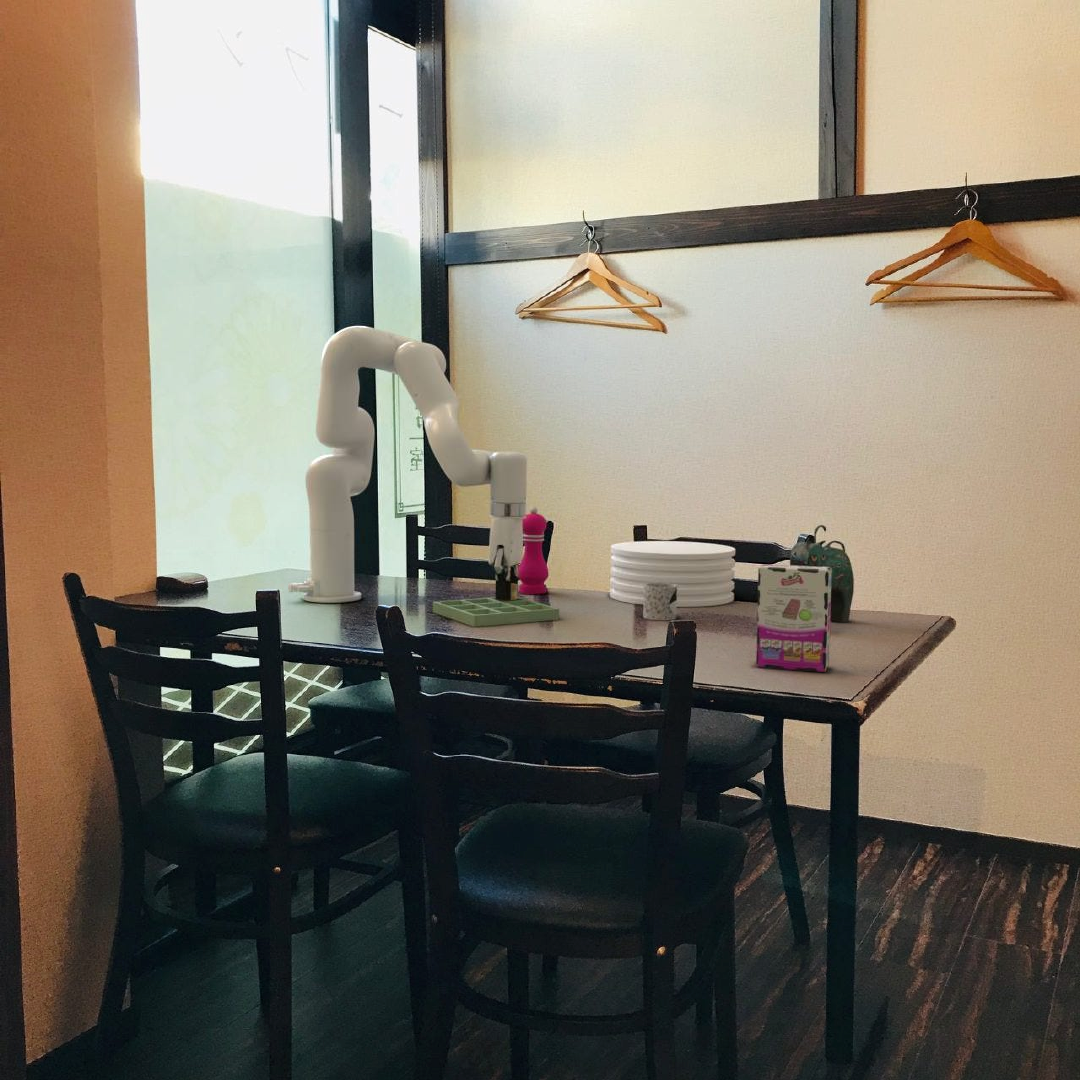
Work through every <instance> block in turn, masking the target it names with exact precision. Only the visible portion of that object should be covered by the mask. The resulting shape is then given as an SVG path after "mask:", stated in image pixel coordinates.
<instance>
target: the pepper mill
mask: <svg viewBox="0 0 1080 1080" xmlns="http://www.w3.org/2000/svg"><path fill="white" fill-rule="evenodd" d="M522 526H523V543H524V551H523V556H522V560H521V562H519V564H518V577H517V578H518V580H519V581H520V582H521V583H520V584H519V585H518V593H520V594H523V595H544V594H546V593H547V585H546V584H545V582H546V581H547V580H548V578H549V568H548V565H547V562H546V560H545V558H544V554H543V542H544V541H545V538H544V537H545V534H544V532H545V531H546V529H547V520H546V518H545V517H544V515H541V514H540V513H538V507H536V506H531V507H530V508H529V513H526V518H525V519H522Z"/></svg>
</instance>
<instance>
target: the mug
mask: <svg viewBox="0 0 1080 1080" xmlns="http://www.w3.org/2000/svg"><path fill="white" fill-rule="evenodd" d="M676 604H677V585H675V584H670V583H647V584H644V605H642V606H643V607H642V608H643V609H642V610H643V611H642V612H643V613H642V614H643V615H642V616H643V619H646V620H651V621H673V620H676V619H677V607H676Z"/></svg>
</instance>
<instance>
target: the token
mask: <svg viewBox="0 0 1080 1080" xmlns="http://www.w3.org/2000/svg"><path fill="white" fill-rule="evenodd" d="M517 587H518V588H519V584H518V585H517V584H514V583H511V599H510V600H516V599H517V597H518V596H517Z"/></svg>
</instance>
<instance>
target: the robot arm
mask: <svg viewBox="0 0 1080 1080" xmlns="http://www.w3.org/2000/svg"><path fill="white" fill-rule="evenodd" d="M361 368H368V369H373V370H374V369H375V370H380V371H384V372H388V373H391V374H394V375H397V376H398V377H399V379H400V380H401V382H402V384H403V386H404V387H405V390H407V392H408V394H409V396H410V398H411V400H412V401H413V403H414V405H415V407H416V409H417V411H418V412H419V414H420V416H421V418H422V419H423V424H424V425H423V426H424V429H425V433H426V436H427V440H428V444H429V445H430V448H431V451H432V453H433V455H434V457H435V459H436V460H437V462H438V464H439V466H440V467H441V469H442V470H443V472H444V474H445V475H446V476H447V478H448V479H449V480H450V481H451V482H452V483H453V484H455V485H456V486H459V487H465V488H467V487H477V486H484V485H489V486H490V487H489V519H491V524H490V529H489V530H490V531H489V542H488V543H489V544H488V564H489V565H490V566H492V567H494V571H495V596H494V597H495V598H496V599H497V600H510V599H511V583H514V584H517V585H518V587H517V597H519V596H518V595H519V578H518V568H519V564H520V563H521V561H522V558H523V556H524V541H523V534H524V532H523V526H522V519H525V518H526V515H527V481H528V480H527V479H528V478H527V474H528V469H527V468H528V467H527V466H528V459H527V456H526V454H525V453H523V452H520V451H496V452H495V451H490V450H483V449H472V448H471V445H470V444H469V443H468V441H467V439H466V438H465V435H464V434H463V432H462V429H461V427H460V423H459V420H458V419H459V418H458V412H459V408H460V401H459V397H458V395H457V394H456V392H455V391H454V389H453V387H452V385H451V383H450V382H449V380H448V378H447V377H446V374H445V372H446V369H447V360H446V357H445V355H444V353H443V351H442V350H441V349H440V348H438V347H437V346H436V345H434V344H432V343H428V342H423V341H420V340H415V339H412V338H409V337H406V336H403V335H401V334H396V333H393V332H390V331H386V330H383V329H378V328H374V327H371V326H365V325H354V326H348V327H345V328H342V329H340V330H339V331H337V332H335V333H334V334H333V335H332V336H331V337H330V338H329V339H328V341H327V342H326V343H325V345H324V348H323V350H322V355H321V362H320V376H319V377H320V380H319V389H318V397H317V398H318V399H317V409H316V418H315V419H316V420H315V434H316V438H317V441H318V442H319V443H320V444H321V445H322V446H324V447H326V448H328V449H329V448H330V449H333V451H332V452H333V453H332V454H326V455H325V454H324V455H322V456H319V457H317V458H315V459H314V460H313V461H312V462H310V464H309V465H308V467H307V469H306V472H305V489H306V495H307V501H308V511H309V512H308V514H309V558H310V559H309V562H310V564H309V565H310V567H309V572H310V574H309V575H310V577H306V578H305V580H304V581H302V582H299V583H298V582H293V583H288V584H287V585H288V586H287V588H288V589H287V590H288V592H289V593H303V594H302V599H303V600H304V601H306V602H311V603H324V604H335V603H337V604H338V603H348V602H350V603H351V602H355V601H360V600H361V599H362V593H361V592H360V591H356V590H355V517H354V516H355V514H354V509H353V504H352V500H351V497H354V496H358V495H361V493H362V492H364V491H365V490H366V489H367V487H368V485H369V483H370V479H371V476H372V468H373V457H374V446H375V425H374V422H373V421H374V420H373V419H372V416H371V415H370V414H369V412H368V411H367V410H365V409H364V408H362V407H361V406H359V398H360V397H359V396H360V390H361V388H360V378H359V370H360V369H361Z"/></svg>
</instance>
